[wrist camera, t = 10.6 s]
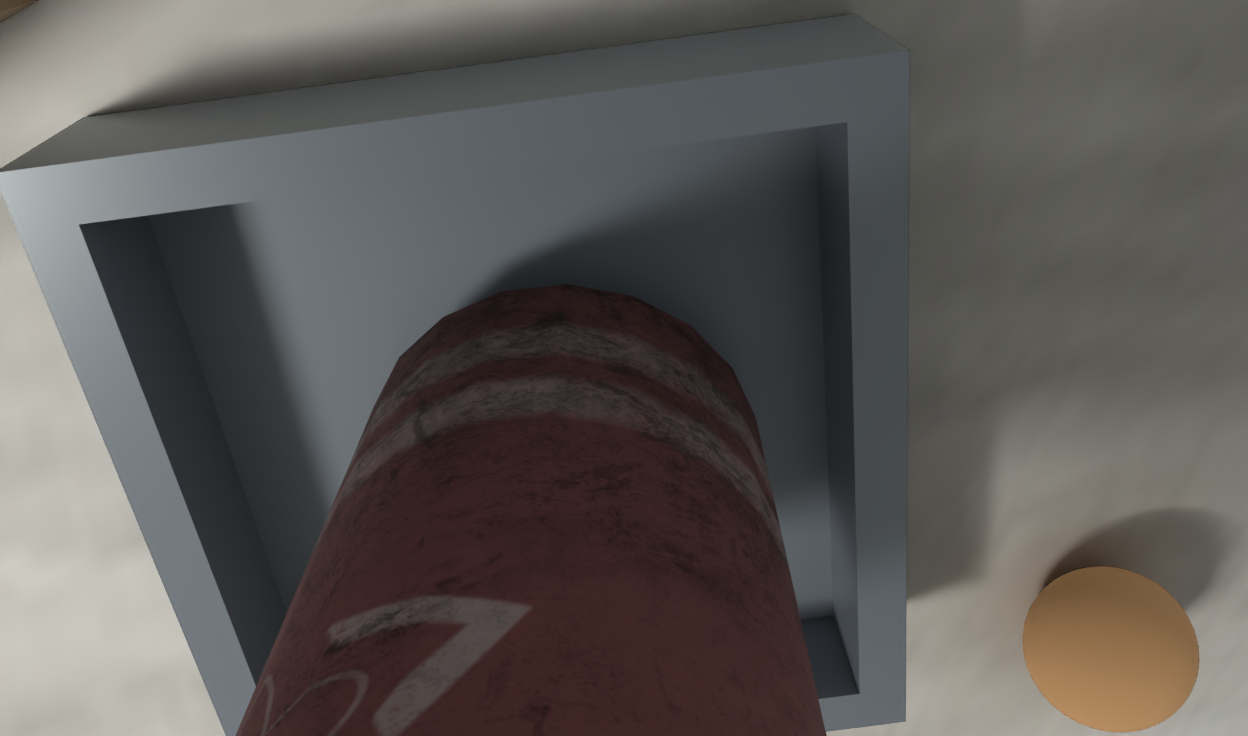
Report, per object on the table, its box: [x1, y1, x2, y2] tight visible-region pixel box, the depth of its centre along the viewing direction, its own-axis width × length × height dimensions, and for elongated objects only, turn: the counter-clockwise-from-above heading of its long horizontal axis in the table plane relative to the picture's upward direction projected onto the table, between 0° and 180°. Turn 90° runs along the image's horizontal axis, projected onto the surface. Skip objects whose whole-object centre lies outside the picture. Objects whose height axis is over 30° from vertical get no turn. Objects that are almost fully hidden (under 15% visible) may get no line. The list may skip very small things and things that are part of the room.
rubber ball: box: [1023, 566, 1199, 732], centre depth 20 cm, size 3×3×3 cm
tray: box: [0, 14, 910, 736], centre depth 17 cm, size 12×12×3 cm
